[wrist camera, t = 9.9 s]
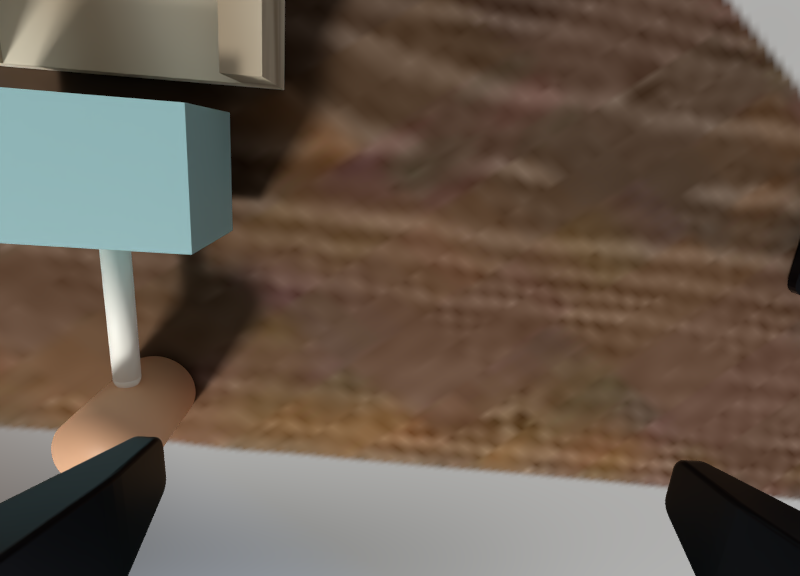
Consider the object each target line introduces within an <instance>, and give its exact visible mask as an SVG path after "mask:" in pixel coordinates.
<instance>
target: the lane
mask: <svg viewBox="0 0 800 576" xmlns="http://www.w3.org/2000/svg"><path fill="white" fill-rule="evenodd" d="M0 66H8V67H20V68H32V69H43V70H55V71H67V72H79V73H90V74H102V75H114V76H126V77H137V78H149V79H161V80H172V81H184V82H196V83H208V84H219V85H231V86H243V87H255V88H266V89H278V90H284V69H285V0H0Z"/></svg>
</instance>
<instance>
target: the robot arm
mask: <svg viewBox="0 0 800 576" xmlns="http://www.w3.org/2000/svg"><path fill="white" fill-rule="evenodd" d="M788 288H789V290H790V291H791V292H793V293H796V294H799V295H800V245H799V248H798V251H797V254H796V257H795V261H794V264H793V267H792V270H791V273H790V276H789V280H788ZM165 484H166V472H165V461H164V450H163V443H162V441H161V439H159V438H158V437H144V436H136V437H133V438H130V439H128V440H126V441H124V442H122V443H120V444H118V445H116V446H114V447H112V448H110V449H108V450H106V451H104V452H102V453H100V454H98V455H96V456H94V457H92V458H90V459H88V460H86V461H84V462H82V463H80V464H78V465H76V466H74V467H72V468H70V469H68V470H66V471H64V472H62V473H60V474H58V475H56V476H54V477H52V478H50V479H48V480H46V481H44V482H42V483H40V484H38V485H36V486H34V487H32V488H30V489H28V490H26V491H24V492H22V493H20V494H18V495H16V496H14V497H12V498H10V499H8V500H6V501H4V502H2V503H0V576H128V574H129V572H130V570H131V568H132V565H133V563H134V561H135V558H136V556H137V554H138V551H139V549H140V547H141V544H142V542H143V540H144V537H145V535H146V532H147V530H148V528H149V525H150V523H151V521H152V518H153V516H154V514H155V511H156V509H157V507H158V504H159V502H160V499H161V497H162V495H163V492H164V489H165ZM665 505H666V510H667V513H668V516H669V518H670V520H671V522H672V525H673V527H674V529H675V531H676V534H677V536H678V538H679V540H680V542H681V545H682V547H683V549H684V551H685V553H686V556H687V558H688V560H689V562H690V564H691V567H692V569H693V571H694V573H695V575H696V576H800V511H799V510H797V509H795V508H793V507H791V506H789V505H787V504H785V503H783V502H781V501H779V500H777V499H776V498H774V497H772V496H770V495H768V494H766V493H764V492H762V491H760V490H758V489H756V488H754V487H752V486H750V485H748V484H746V483H744V482H742V481H740V480H738V479H736V478H735V477H733V476H731V475H729V474H727V473H725V472H723V471H721V470H719V469H717V468H715V467H713V466H711V465H709V464H707V463H705V462H702V461H687V460H681V461H679V462H677V463H676V464H675V466H674V468H673V472H672V476H671V479H670V483H669V487H668V491H667V494H666V499H665Z"/></svg>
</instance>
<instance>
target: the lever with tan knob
mask: <svg viewBox="0 0 800 576" xmlns="http://www.w3.org/2000/svg"><path fill="white" fill-rule="evenodd" d="M232 230H233V227H232V185H231V142H230V113H229V112H225V111H220V110H216V109H211V108H207V107H202V106H198V105H193V104H189V103H184V102H172V101H160V100H148V99H136V98H123V97H111V96H99V95H87V94H75V93H63V92H50V91H38V90H26V89H14V88H2V87H0V243H8V244H24V245H41V246H57V247H73V248H90V249H99V253H100V262H101V272H102V282H103V291H104V301H105V310H106V320H107V330H108V339H109V349H110V359H111V368H112V378H113V380H112V381H111V382H110V383H109V384H108V385H106V386H105V387H104V388H103V389H102V390H101V391H100V392H99V393H97V394H96V395H95V396H94V397H93V398H92V399H91V400H90V401H89V402H87V403H86V404H85V405H84V406H83V407H82V408H81V409H80V410H78V411H77V412H76V413H75V414H74V415H73V416H72V417H71V418H70V419H68V420H67V421H66V422H65V423H64V424H63V425H62V426H61V427H60V428H59V429H58V430H57V432H56V433H55V435H54V437H53V441H52V447H51V451H52V457H53V461H54V463H55V465H56V467H57V469H58V470H59V471H60V473H62V472H64V471H66V470H68V469H70V468H72V467H74V466H76V465H78V464H80V463H82V462H84V461H86V460H88V459H90V458H92V457H94V456H96V455H98V454H100V453H102V452H104V451H106V450H108V449H110V448H112V447H114V446H116V445H118V444H120V443H122V442H124V441H126V440H128V439H130V438H133V437H136V436H144V437H158V438H159V439H161V441H162V443H163V447H164V445H165V444H166V442H167V441H168V440H169V438H170V437H171V435H172V434H173V432H174V431H175V430H176V428H177V427H178V425H179V424H180V422H181V421H182V420H183V418H184V417H185V415H186V414H187V412H188V411H189V410H190V408H191V407H192V405H193V403H194V400H195V395H196V389H195V384H194V381H193V379H192V377H191V375H190V374H189V373H188V371H187V370H186V369H185V368H184V367H183V366H181V365H180V364H179V363H177V362H175V361H173V360H171V359H169V358H165V357H161V356H147V357H143V358H140V351H139V339H138V327H137V315H136V304H135V292H134V280H133V268H132V256H131V251H139V252H155V253H172V254H188V255H192V254H194V253H196V252H197V251H199V250H201V249H202V248H204V247H206V246H207V245H209V244H211V243H212V242H214V241H216V240H217V239H219V238H221V237H222V236H224V235H226V234H227V233H229V232H231V231H232Z"/></svg>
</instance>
